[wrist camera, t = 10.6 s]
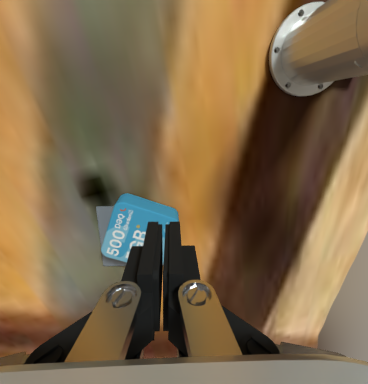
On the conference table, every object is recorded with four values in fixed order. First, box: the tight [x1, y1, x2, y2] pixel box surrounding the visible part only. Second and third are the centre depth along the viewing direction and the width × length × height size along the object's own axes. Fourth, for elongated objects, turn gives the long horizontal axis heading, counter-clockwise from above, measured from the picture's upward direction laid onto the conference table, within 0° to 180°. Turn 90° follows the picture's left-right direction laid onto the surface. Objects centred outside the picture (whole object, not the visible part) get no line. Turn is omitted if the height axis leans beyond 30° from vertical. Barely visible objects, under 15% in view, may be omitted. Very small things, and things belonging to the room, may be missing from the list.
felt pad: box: [96, 206, 164, 266], centre depth 44 cm, size 13×14×1 cm
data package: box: [101, 193, 179, 263], centre depth 41 cm, size 12×4×12 cm
